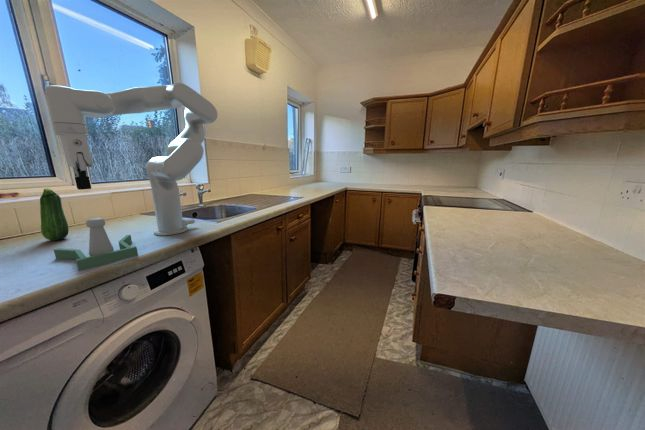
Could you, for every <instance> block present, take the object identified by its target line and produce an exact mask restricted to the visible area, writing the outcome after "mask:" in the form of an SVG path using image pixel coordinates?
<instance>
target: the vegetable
mask: <svg viewBox="0 0 645 430" xmlns="http://www.w3.org/2000/svg"><path fill="white" fill-rule="evenodd" d="M39 205H40V206H39V207H40V210H39V211H40V212H39V213H40V233H41V235H42V236H43V238H45V240H49V241H59V240H64V239H66V237H67V236H68V234H69V231H70V229H69V223H68V221H67V218H66V216H65V213H64V209H63V206H62V198H61V196H60V195H58V194H57V193H56V192H55V191H54V190H52V189H50V188H43V192H42V194H41V196H40V198H39Z"/></svg>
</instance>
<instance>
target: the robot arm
mask: <svg viewBox="0 0 645 430" xmlns="http://www.w3.org/2000/svg"><path fill="white" fill-rule="evenodd" d="M44 92H45V98H46V101H47V105H48V109H49V115H50V118H51V122H52V127H53V130H54V135H57V136H60V138H61V143H62V146H63V147H62V148H63V152H64V155H65V158H66V159H65V160H66V162H67V165H68V167H70V168H72V170H73V174H74V180H75V185H76V189H77V190H81V191H82V190H92V184H91V180H90V176H89V172H88V168H92V167H94V162H93V161H94V160H93V157H92V154H91V151H90V146H89V143H88V140H87V137H89V136H90V135H89V131H88V130H89V129H88V125H87V121H86V117H87V118H91V119H99V118H106V117H113V116H123V115H127V114H128V115H130V114H142V113H143V114H144V113H151V112H159V111H164V110H165V111H166V110H173V109H179V108H185V109H184V113H183V116H184V121H185V126H184V127H185V128H184V129H183V131H182V132H181V133H180V134H178V136H176V137H175V139H173V140H171V142H170V143H169V144H168V146H167V149H166V153H167V154H168V155H167V156H166V155H162V156H161V155H160V156H158V155H157V156H154V157H151V159H149V160H148V161H147V163H146V175H147V177H148V180H149V184H150V187H151V192H152V200H153V206H154V212H155V213H154V214H155V220H156V227H157V228H156V229H154V230H153V234H154V235H156V236H172V235H173V236H174V235H178V234H182V233H184V232H186V231H188V229H189V227H188V225H192V224H195V223H196V221H195V219H184V218H183V212H182V204H181V198H180V197H181V196H180V190H179V184H178V181H182V180H183V179H185V178H186V177H187V176H188V175H189V174H190V173H191V171H192V170H193V169H195V168H196V166H197V165H198V164H199V163H200V162H201V160H202V159H203V156H204V154H205V153H204V147H203V145H202V144H203V143H204V141H205V139H206V133H205V132H206V131H205V130H206V129H205V124H206V125H207V124H212V123H214V122H216V120H217V119H218V111H217V108H216V107H215V105H213V103H212V102H211V101H209V100H208V99H206V98H205V97H204V96H203V95H201V94H200V93H198V92H197V91H196V90H195V89H193V88H192V87H190V86H188V85H186V84H185V83H182V82H176V83H171V84H166V85H155V86H137V87H131V88H127V89H124V90H118V91H113V92H102V91H100V90H92V89H91V90H89V89H78V88H72V87H69V86H63V85H47V86H45V87H44Z"/></svg>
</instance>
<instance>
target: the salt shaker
mask: <svg viewBox="0 0 645 430" xmlns="http://www.w3.org/2000/svg"><path fill="white" fill-rule="evenodd" d="M85 224H86V227H87V228H89V242H88V245H89V246H88V247H89V248H88V255H89V257H90V256H94V255H98V254H103V253H107V252H112V251H115V250H114V247H113V244H112V242H111V241H110V238H109V235H108V234H107V232H106V229H105V227H104V226H106V219H105V218H103V217H94V218H93V217H92V218H89V219H87V220H86V221H85Z"/></svg>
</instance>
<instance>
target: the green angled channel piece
mask: <svg viewBox="0 0 645 430" xmlns="http://www.w3.org/2000/svg"><path fill="white" fill-rule="evenodd" d="M132 242H133V241H132V235H131V234H126V235H125V236H123V237H122V238H121V239H120V240H118V246H119V249H117V250H116V249H115V250H114V251H112V252H107V253H103V254H98V255H94V256H90V255H89V256H87V257H86V254H84V253H83V251H82V250H81V249H76V248H61V247H60V248H54V249H53V253H54V258H55V259H57V260H71V261H72V260H73V261H75V262H76V266H77V270H78V271H82V269H83V270H87V269H91V268H94V267H99V266H103V265H106V264H110V263H114V262H118V261H122V260H126V259H130V258H135V257H138V256H139V253H138V247H137V246H136V245H135V246H131V244H132Z"/></svg>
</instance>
